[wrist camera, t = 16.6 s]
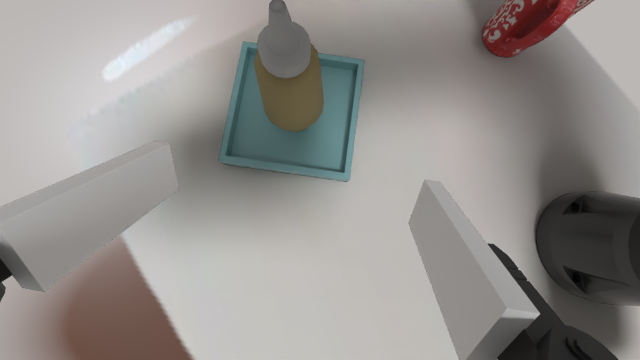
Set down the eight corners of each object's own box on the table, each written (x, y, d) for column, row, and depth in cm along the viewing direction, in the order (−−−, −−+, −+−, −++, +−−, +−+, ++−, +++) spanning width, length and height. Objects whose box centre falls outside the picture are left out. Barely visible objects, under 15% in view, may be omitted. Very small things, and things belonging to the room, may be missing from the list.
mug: (488, 4, 39) (582, -106, 25) (537, 28, 38) (658, -69, 25) (458, 63, 37) (540, -21, 24) (508, 90, 37) (621, 20, 23)
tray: (360, 70, 36) (364, 59, 34) (346, 181, 34) (349, 179, 31) (247, 53, 36) (243, 41, 33) (225, 164, 33) (218, 160, 31)
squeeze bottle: (333, 112, 34) (357, 5, 16) (296, 151, 33) (278, 81, 15) (294, 77, 35) (276, -63, 17) (256, 114, 34) (195, 6, 16)
